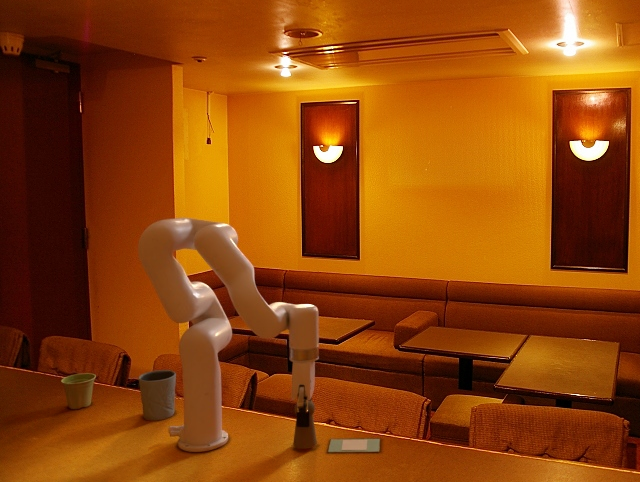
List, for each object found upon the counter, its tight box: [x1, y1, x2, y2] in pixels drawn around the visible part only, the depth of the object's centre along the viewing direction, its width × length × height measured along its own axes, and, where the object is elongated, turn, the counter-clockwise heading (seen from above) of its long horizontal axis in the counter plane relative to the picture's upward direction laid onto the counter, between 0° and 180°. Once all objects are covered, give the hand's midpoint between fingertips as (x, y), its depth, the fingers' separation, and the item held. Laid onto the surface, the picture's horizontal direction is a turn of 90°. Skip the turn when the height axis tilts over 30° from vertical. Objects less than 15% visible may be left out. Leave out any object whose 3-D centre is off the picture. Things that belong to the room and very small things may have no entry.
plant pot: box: [60, 372, 97, 410], centre depth 186 cm, size 9×9×9 cm
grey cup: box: [138, 369, 177, 421], centre depth 178 cm, size 10×10×12 cm
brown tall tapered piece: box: [292, 400, 318, 449], centre depth 157 cm, size 6×6×11 cm
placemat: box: [327, 438, 381, 454], centre depth 157 cm, size 13×8×1 cm, turn 91°
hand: (304, 421), depth 157 cm, fingers closed on brown tall tapered piece, 5 cm apart
